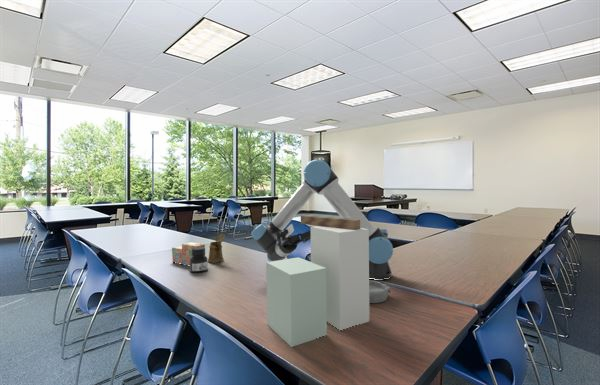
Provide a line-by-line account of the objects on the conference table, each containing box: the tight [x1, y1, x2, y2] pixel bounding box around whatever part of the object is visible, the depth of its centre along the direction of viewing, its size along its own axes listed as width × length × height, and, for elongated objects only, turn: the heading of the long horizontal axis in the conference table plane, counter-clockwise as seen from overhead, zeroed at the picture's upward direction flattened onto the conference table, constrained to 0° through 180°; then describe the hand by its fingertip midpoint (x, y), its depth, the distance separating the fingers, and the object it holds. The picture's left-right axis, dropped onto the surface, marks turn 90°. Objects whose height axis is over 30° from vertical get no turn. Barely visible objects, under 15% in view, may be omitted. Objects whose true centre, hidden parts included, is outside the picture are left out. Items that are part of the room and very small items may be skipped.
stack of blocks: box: [171, 241, 206, 265], centre depth 172 cm, size 21×6×12 cm, turn 58°
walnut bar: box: [300, 214, 360, 230], centre depth 104 cm, size 24×3×3 cm, turn 46°
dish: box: [369, 280, 392, 304], centre depth 118 cm, size 14×14×5 cm
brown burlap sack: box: [207, 232, 226, 264], centre depth 176 cm, size 9×14×18 cm, turn 41°
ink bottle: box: [189, 246, 209, 274], centre depth 158 cm, size 10×9×12 cm
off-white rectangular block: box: [310, 225, 370, 331], centre depth 100 cm, size 16×12×30 cm
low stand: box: [265, 257, 328, 348], centre depth 92 cm, size 16×12×20 cm
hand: (307, 225), depth 115 cm, fingers open, 13 cm apart
